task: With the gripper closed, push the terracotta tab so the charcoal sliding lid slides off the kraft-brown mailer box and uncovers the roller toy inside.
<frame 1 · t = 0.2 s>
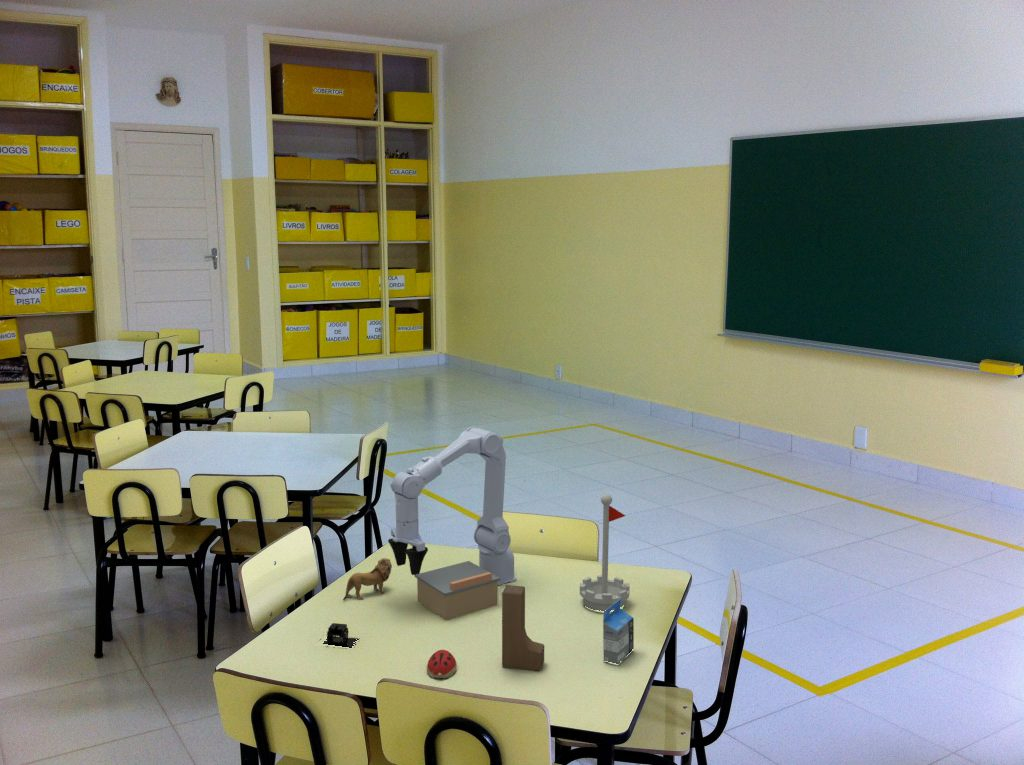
hand: (408, 569, 231), 10 cm above the table, tool pointing down, fingers open, 7 cm apart
ladybug figurine: (441, 671, 200), on the table
wooden block: (523, 665, 202), on the table
roller toy: (457, 604, 235), resting in mailer box
mailer box: (457, 603, 234), on the table
label tape box: (618, 657, 206), on the table
flag stand: (604, 604, 234), on the table
lion figurine: (368, 594, 240), on the table
black piece: (338, 644, 213), on the table
sliding lid: (457, 574, 233), point 8 cm above the table, slide at 0.0 cm
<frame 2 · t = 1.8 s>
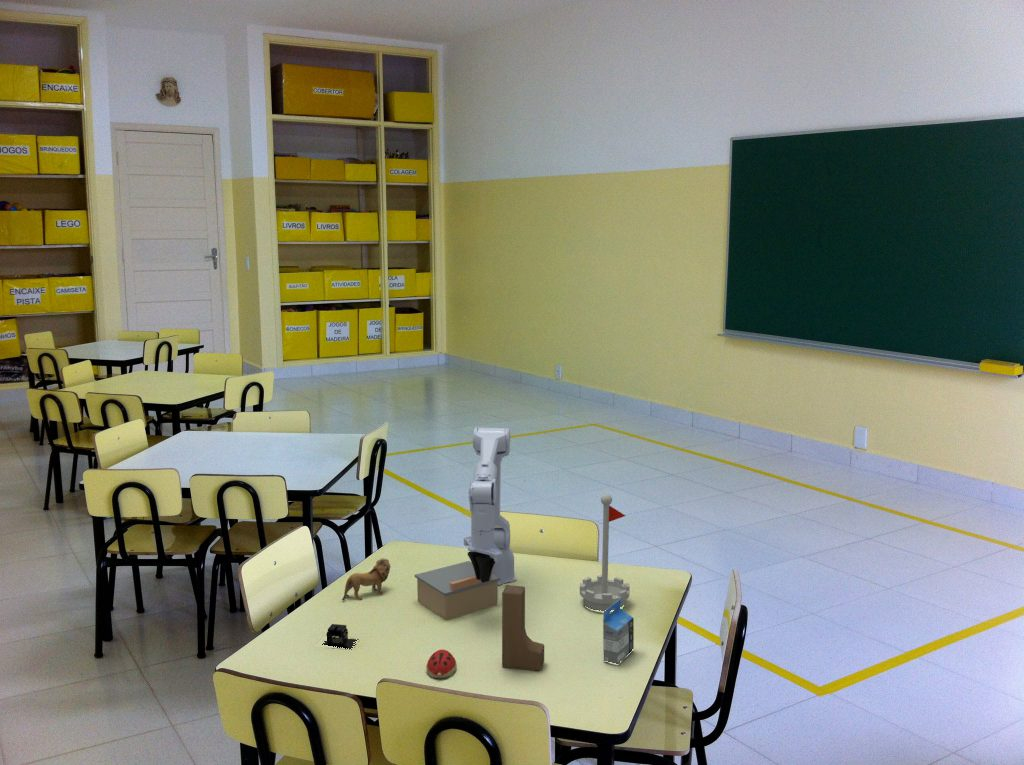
hand: (482, 580, 223), 10 cm above the table, tool pointing down, fingers closed
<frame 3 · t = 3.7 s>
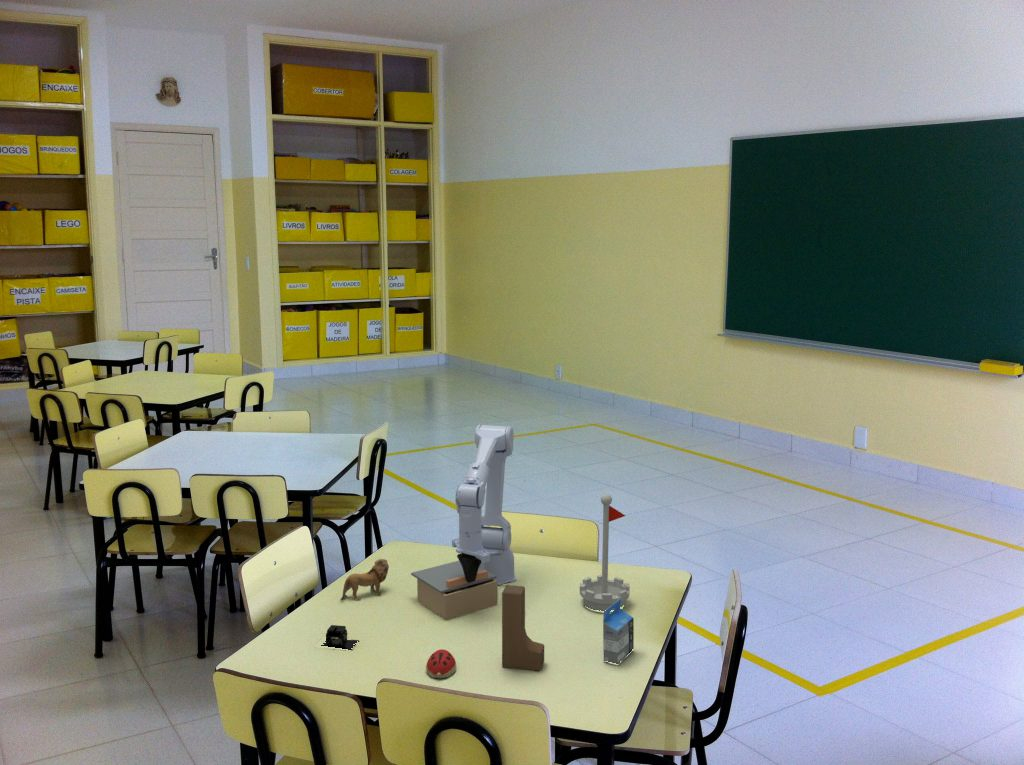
hand: (470, 581, 228), 8 cm above the table, tool pointing down, fingers closed
sliding lid: (453, 572, 235), point 8 cm above the table, slide at 1.8 cm, touching gripper
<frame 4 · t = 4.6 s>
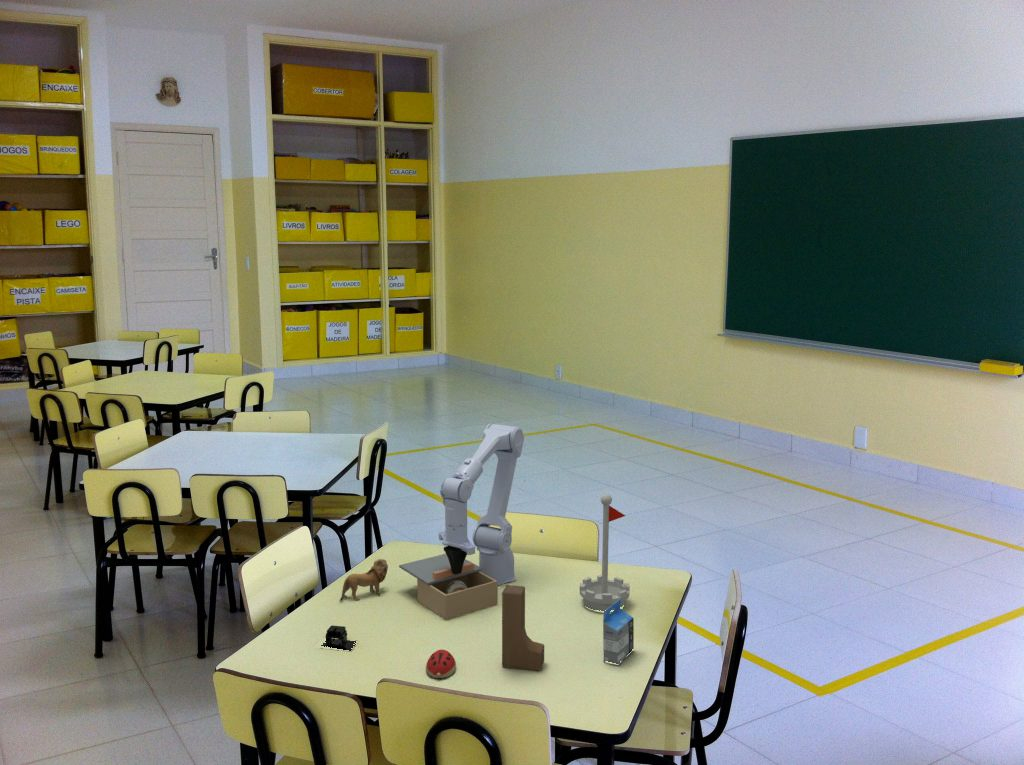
hand: (456, 572, 233), 8 cm above the table, tool pointing down, fingers closed
sliding lid: (440, 564, 240), point 8 cm above the table, slide at 8.4 cm, touching gripper
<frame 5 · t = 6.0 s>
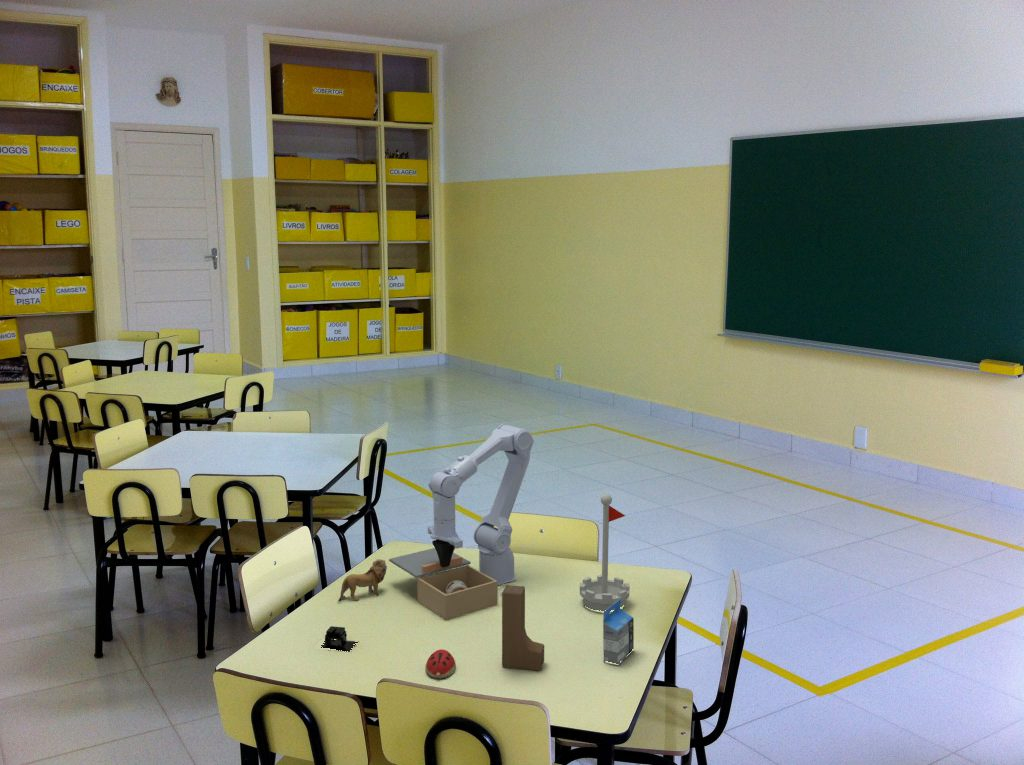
hand: (445, 566, 238), 8 cm above the table, tool pointing down, fingers closed
sliding lid: (429, 558, 244), point 8 cm above the table, slide at 14.0 cm, touching gripper
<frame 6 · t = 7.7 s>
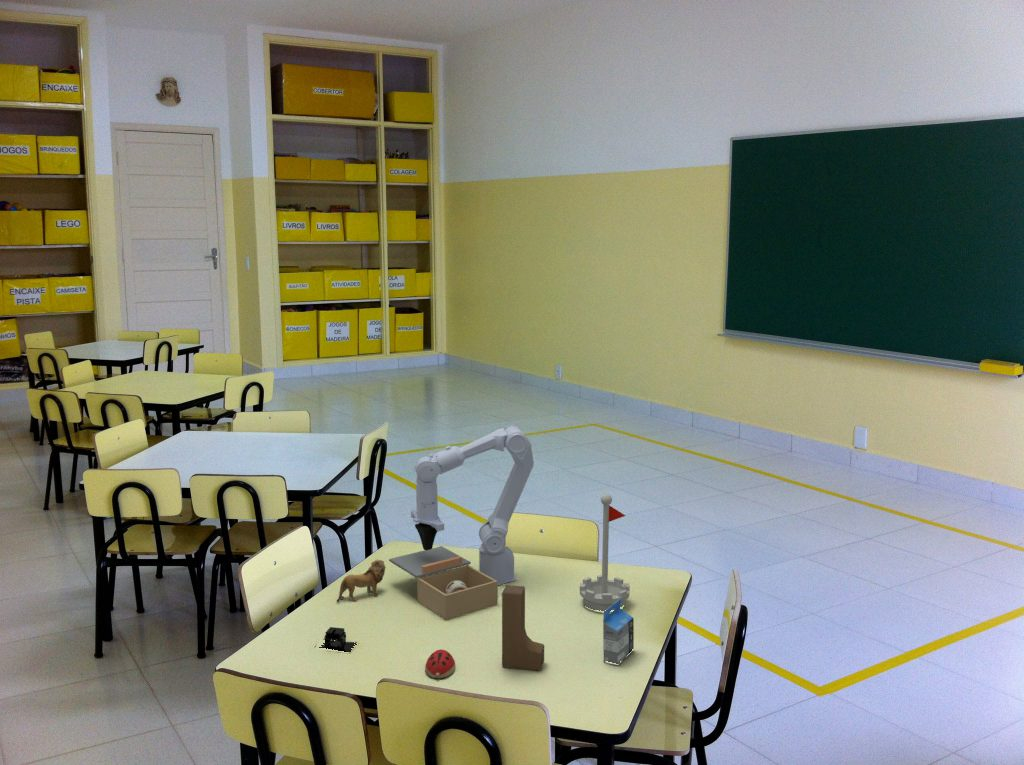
hand: (427, 549, 245), 10 cm above the table, tool pointing down, fingers closed
sliding lid: (429, 558, 244), point 8 cm above the table, slide at 14.0 cm
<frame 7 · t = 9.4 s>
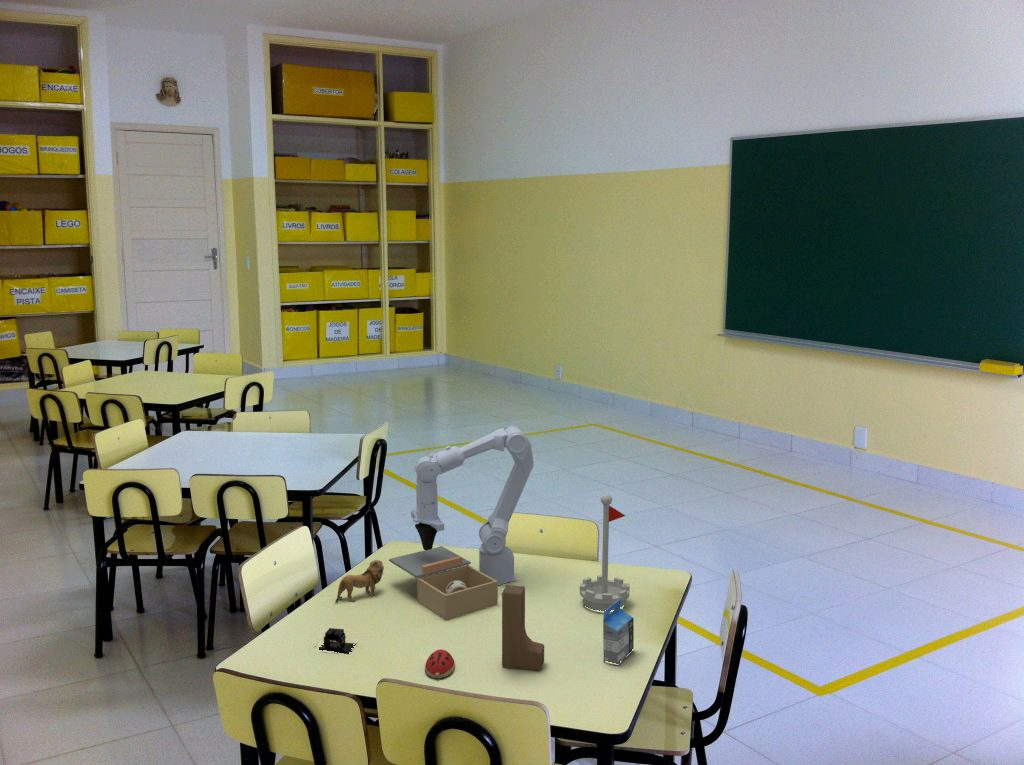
hand: (427, 549, 245), 10 cm above the table, tool pointing down, fingers closed
at the end: sliding lid slide at 14.0 cm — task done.
